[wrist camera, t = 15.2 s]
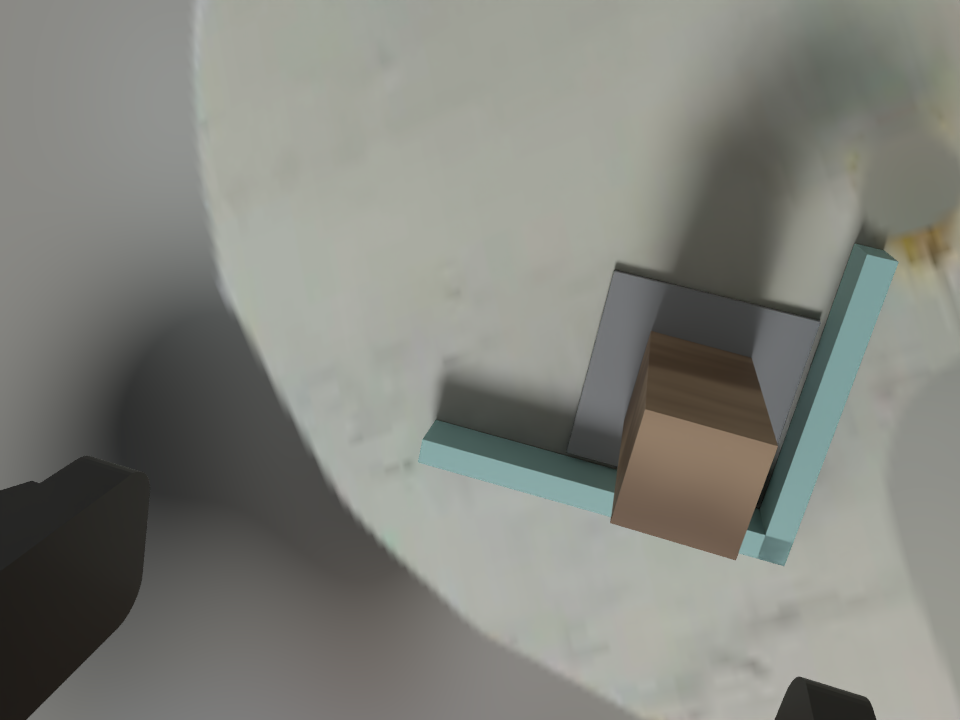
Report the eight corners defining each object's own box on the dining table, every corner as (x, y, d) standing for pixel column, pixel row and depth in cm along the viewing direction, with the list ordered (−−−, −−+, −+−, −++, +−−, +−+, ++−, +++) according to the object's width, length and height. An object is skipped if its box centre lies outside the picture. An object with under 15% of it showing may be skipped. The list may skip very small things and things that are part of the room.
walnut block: (651, 330, 39) (645, 409, 30) (751, 357, 38) (778, 446, 29) (624, 421, 40) (610, 522, 31) (720, 448, 40) (735, 559, 31)
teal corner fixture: (489, 157, 38) (478, 162, 36) (883, 250, 36) (898, 261, 34) (431, 441, 43) (417, 462, 41) (777, 538, 41) (784, 566, 39)
